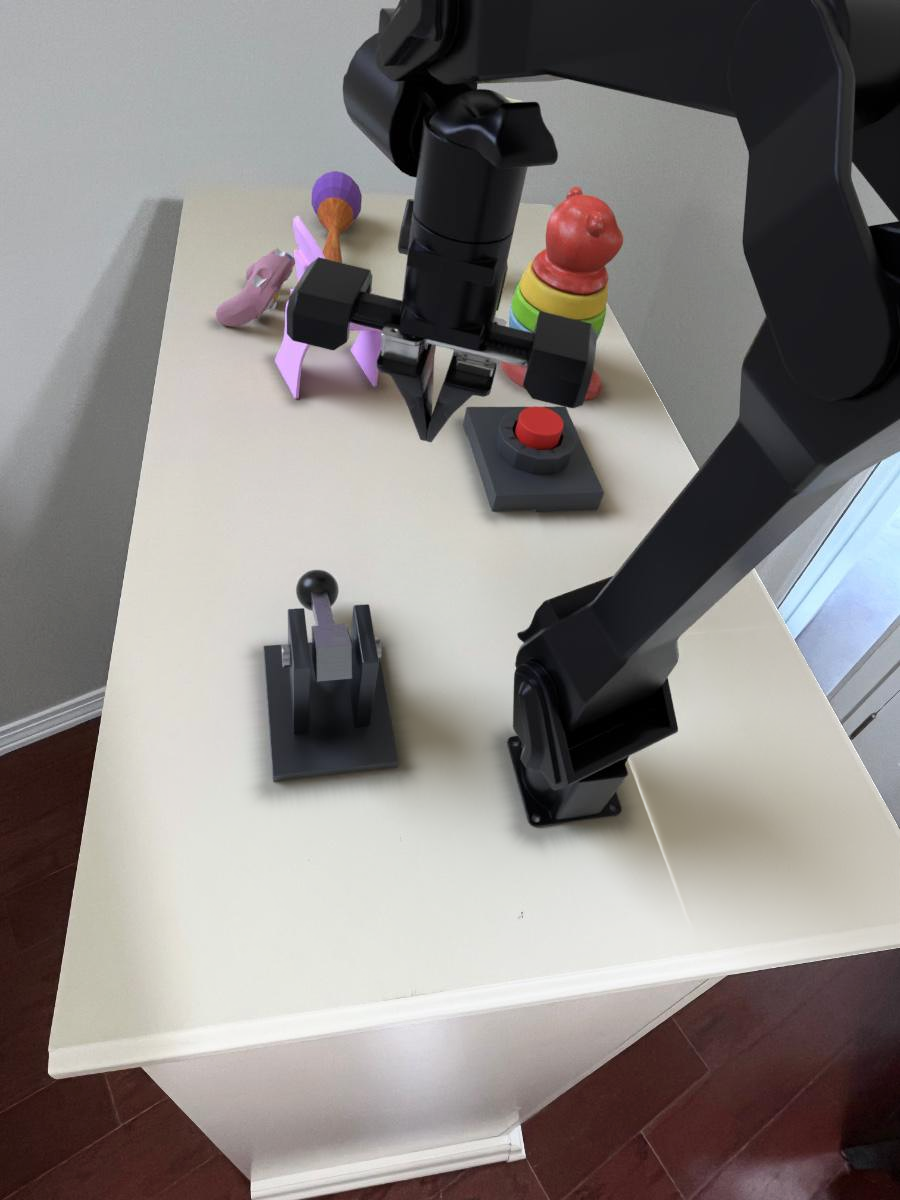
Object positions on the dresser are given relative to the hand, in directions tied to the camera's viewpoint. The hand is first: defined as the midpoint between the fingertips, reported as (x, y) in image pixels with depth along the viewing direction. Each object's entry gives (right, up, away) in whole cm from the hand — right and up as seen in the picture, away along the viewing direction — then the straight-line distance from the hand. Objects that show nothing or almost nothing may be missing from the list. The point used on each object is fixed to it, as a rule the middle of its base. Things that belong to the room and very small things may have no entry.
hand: (427, 437), depth 56 cm
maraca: (-12, +29, +37) cm, 48 cm away
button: (+9, +3, +15) cm, 18 cm away
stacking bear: (+12, +13, +28) cm, 33 cm away
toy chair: (-10, +11, +22) cm, 27 cm away
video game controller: (-18, +19, +27) cm, 38 cm away
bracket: (-7, -19, -2) cm, 20 cm away
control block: (+9, +1, +18) cm, 20 cm away
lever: (-7, -14, -2) cm, 16 cm away
